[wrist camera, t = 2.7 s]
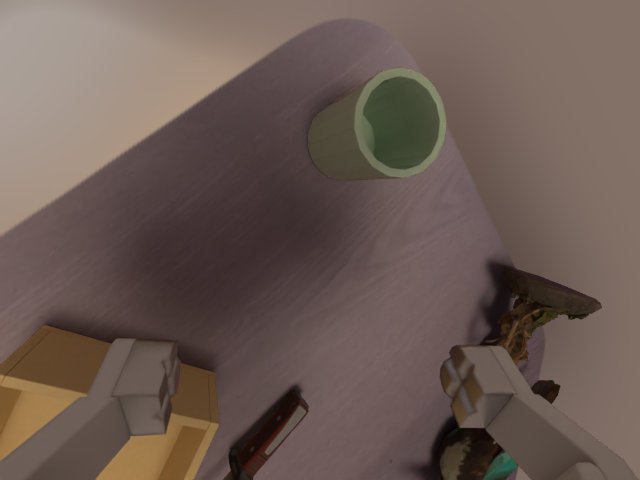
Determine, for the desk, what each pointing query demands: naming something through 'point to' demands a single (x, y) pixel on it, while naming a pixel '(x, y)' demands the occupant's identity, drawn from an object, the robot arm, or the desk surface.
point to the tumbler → (380, 128)
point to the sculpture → (516, 326)
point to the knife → (267, 438)
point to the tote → (75, 381)
